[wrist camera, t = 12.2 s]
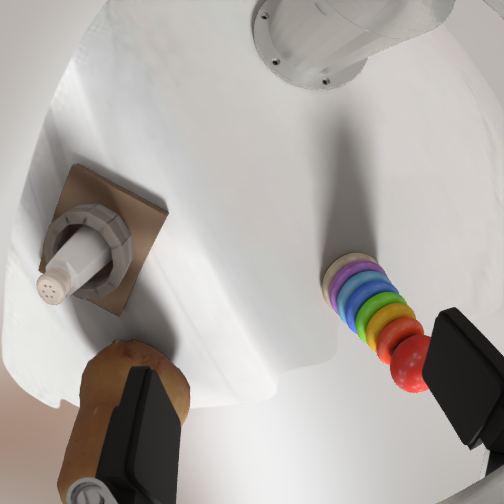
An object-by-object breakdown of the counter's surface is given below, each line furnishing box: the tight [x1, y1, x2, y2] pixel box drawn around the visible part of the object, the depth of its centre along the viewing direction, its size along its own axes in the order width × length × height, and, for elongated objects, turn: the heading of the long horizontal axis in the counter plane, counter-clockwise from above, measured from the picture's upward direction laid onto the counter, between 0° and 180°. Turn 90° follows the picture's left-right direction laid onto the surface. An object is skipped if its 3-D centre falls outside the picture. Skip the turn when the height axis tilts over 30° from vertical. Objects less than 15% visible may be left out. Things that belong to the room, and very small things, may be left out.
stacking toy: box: [322, 253, 431, 393], centre depth 29 cm, size 8×8×19 cm
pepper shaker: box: [36, 224, 112, 305], centre depth 26 cm, size 5×5×11 cm
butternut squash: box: [57, 339, 190, 504], centre depth 27 cm, size 14×13×25 cm
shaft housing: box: [38, 164, 169, 316], centre depth 30 cm, size 14×12×5 cm
